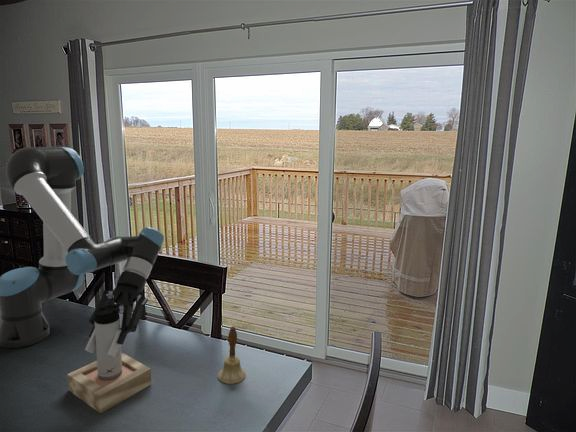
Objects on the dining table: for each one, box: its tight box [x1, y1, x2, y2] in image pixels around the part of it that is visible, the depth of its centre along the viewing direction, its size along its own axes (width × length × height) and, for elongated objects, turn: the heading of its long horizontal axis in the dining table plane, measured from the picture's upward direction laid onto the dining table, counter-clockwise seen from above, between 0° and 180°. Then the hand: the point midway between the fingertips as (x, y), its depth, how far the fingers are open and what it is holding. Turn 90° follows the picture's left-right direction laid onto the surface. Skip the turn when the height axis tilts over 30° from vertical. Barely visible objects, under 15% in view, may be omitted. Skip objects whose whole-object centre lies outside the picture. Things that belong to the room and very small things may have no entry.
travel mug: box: [93, 305, 122, 380], centre depth 111 cm, size 6×7×20 cm
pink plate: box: [85, 364, 134, 387], centre depth 113 cm, size 10×10×2 cm
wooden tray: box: [67, 351, 152, 415], centre depth 113 cm, size 16×16×5 cm
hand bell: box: [217, 326, 246, 385], centre depth 120 cm, size 8×8×16 cm
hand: (99, 353), depth 108 cm, fingers closed on travel mug, 6 cm apart
